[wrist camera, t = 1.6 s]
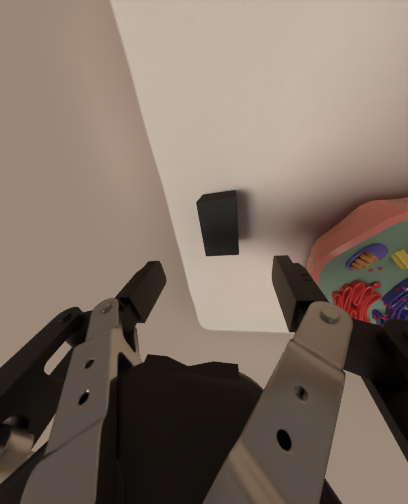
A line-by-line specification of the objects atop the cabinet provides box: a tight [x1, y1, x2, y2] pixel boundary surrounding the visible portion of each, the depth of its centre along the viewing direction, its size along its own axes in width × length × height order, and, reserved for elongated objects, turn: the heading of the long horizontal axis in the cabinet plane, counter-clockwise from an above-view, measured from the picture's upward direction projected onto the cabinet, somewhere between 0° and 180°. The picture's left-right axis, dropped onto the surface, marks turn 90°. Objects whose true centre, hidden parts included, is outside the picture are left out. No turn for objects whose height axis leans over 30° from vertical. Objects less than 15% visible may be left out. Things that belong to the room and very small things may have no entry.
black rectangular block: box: [196, 190, 239, 256], centre depth 18 cm, size 7×4×4 cm, turn 9°
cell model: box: [305, 197, 408, 326], centre depth 14 cm, size 17×20×11 cm
